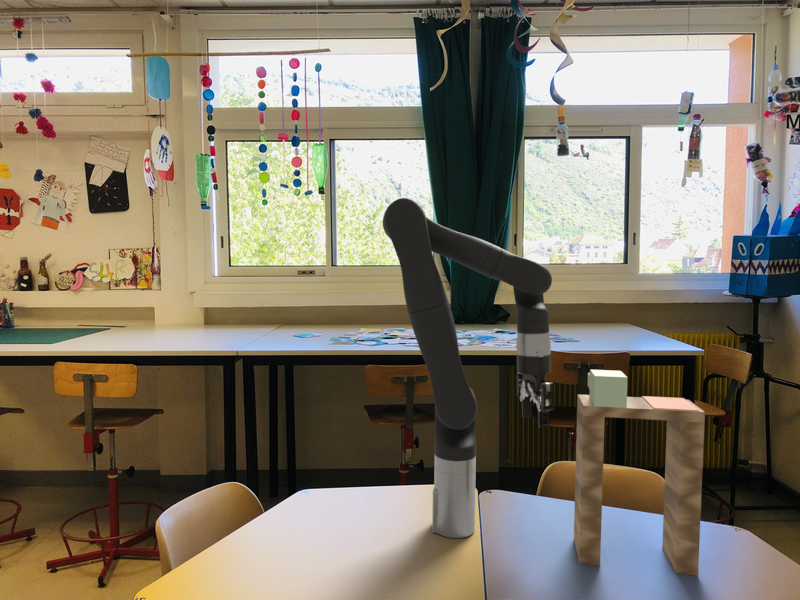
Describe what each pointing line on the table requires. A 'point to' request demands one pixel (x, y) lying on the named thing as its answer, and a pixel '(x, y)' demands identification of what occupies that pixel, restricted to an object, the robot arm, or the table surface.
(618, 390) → the pale green bar
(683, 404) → the card
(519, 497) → the table surface
